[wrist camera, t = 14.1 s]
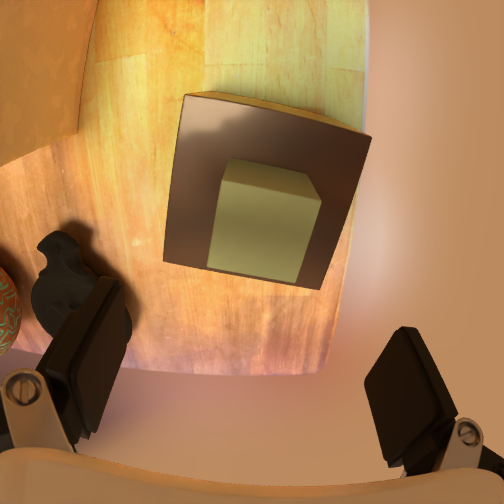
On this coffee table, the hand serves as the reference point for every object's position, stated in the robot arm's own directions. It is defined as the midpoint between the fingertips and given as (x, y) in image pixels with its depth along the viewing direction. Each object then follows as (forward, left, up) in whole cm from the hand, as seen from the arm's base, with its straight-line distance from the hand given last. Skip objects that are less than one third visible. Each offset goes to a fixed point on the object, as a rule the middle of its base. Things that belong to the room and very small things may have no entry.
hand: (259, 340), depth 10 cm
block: (0, 0, -12) cm, 12 cm away
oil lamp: (+20, -19, -25) cm, 37 cm away
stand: (0, 0, -24) cm, 24 cm away
